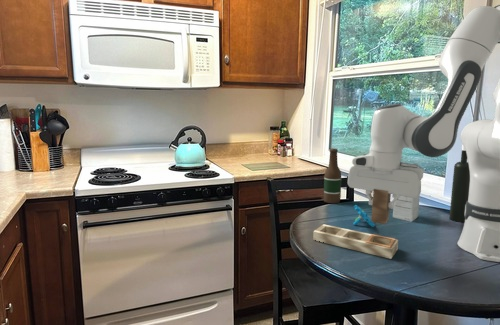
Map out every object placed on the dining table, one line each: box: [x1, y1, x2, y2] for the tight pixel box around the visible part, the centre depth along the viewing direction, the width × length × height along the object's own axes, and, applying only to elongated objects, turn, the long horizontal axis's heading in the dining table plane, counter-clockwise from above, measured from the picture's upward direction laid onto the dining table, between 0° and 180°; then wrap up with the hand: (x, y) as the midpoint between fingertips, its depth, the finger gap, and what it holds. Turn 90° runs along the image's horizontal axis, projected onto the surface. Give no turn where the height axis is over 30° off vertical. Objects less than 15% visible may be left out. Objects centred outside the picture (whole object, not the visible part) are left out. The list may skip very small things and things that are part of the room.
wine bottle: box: [449, 143, 470, 223], centre depth 128 cm, size 6×6×30 cm
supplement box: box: [392, 194, 421, 223], centre depth 133 cm, size 7×7×13 cm
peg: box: [370, 189, 392, 225], centre depth 102 cm, size 4×4×10 cm
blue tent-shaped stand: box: [353, 204, 376, 228], centre depth 126 cm, size 11×6×10 cm
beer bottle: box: [323, 148, 342, 204], centre depth 154 cm, size 8×8×24 cm
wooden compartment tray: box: [312, 223, 399, 260], centre depth 109 cm, size 24×8×3 cm, turn 55°
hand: (381, 206), depth 103 cm, fingers closed on peg, 4 cm apart
